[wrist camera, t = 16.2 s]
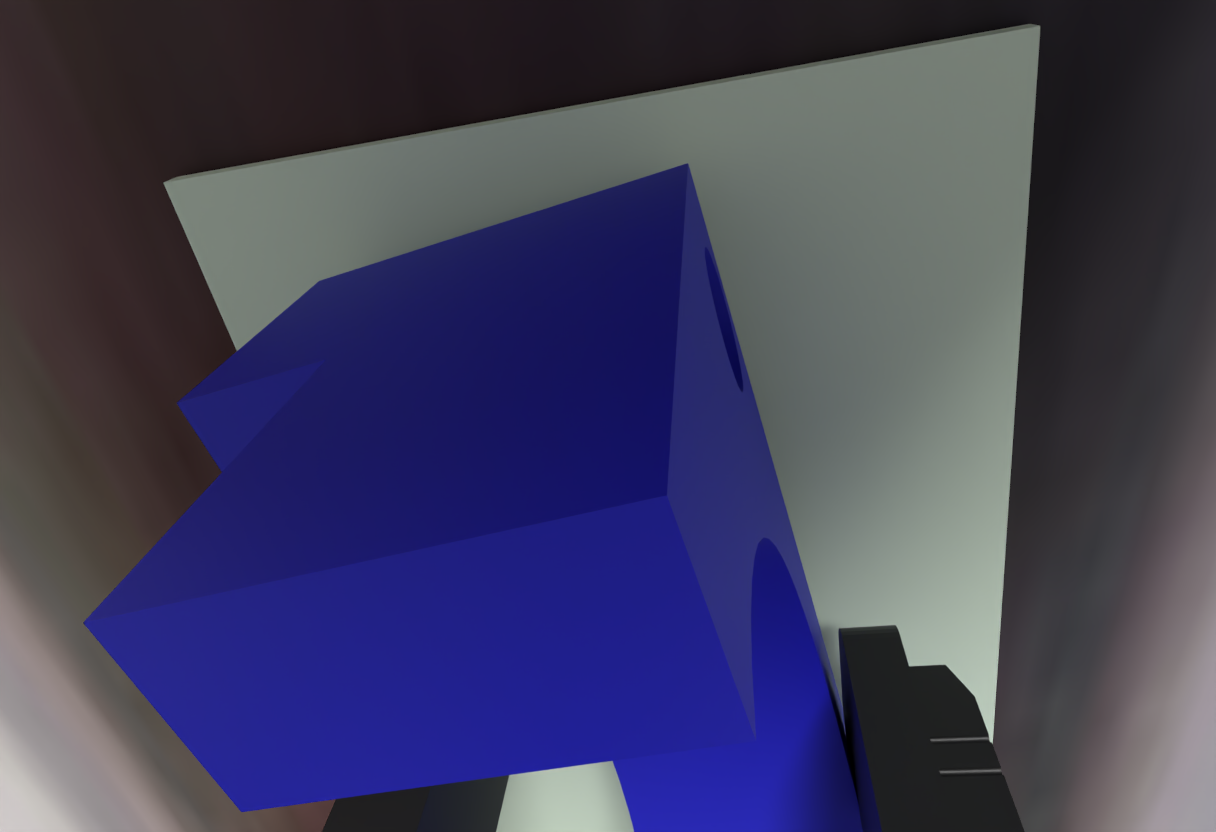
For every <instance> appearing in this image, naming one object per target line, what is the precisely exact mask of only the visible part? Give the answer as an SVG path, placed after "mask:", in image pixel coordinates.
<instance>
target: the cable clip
mask: <svg viewBox="0 0 1216 832" xmlns="http://www.w3.org/2000/svg"><path fill="white" fill-rule="evenodd" d="M177 405H178V406H179V408H180V409H181V411H182V412H183V414H184V415H185V417H186V418H187V420H188V421H189V423H190V424H191V426H192V427H193V429H194V430H195V432H196V433H197V435H198V437H199V438H200V440H201V441H202V443H203V444H204V446H205V447H206V449H207V450H208V452H209V453H210V455H211V456H212V458H213V459H214V461H215V462H216V464H217V465H218V467H219V468H220V470H221V472H222V473H221V474H220V475H219V476H218V477H217V478H216V480H215V481H214V482H213V483H212V484H211V485H210V486H209V487H208V488H207V489H206V490H205V491H204V493H203V494H202V495H201V496H200V497H199V498H198V499H197V500H196V501H195V502H194V503H193V504H192V505H191V507H190V508H189V509H188V510H187V511H186V512H185V513H184V514H183V515H182V516H181V517H180V518H179V520H178V521H177V522H176V523H175V524H174V525H173V526H172V527H171V528H170V529H169V530H168V531H167V533H166V534H165V535H164V536H163V537H162V538H161V539H160V540H159V541H158V542H157V543H156V544H155V546H154V547H153V548H152V549H151V550H150V551H149V552H148V553H147V554H146V555H145V556H144V557H143V559H142V560H141V561H140V562H139V563H138V564H137V565H136V566H135V567H134V568H133V569H132V570H131V572H130V573H129V574H128V575H127V576H126V577H125V578H124V579H123V580H122V581H121V582H120V583H119V585H118V586H117V587H116V588H115V589H114V590H113V591H112V592H111V593H110V594H109V595H108V596H107V598H106V599H105V600H104V601H103V602H102V603H101V604H100V605H99V606H98V607H97V608H96V609H95V611H94V612H93V613H92V614H91V615H90V616H89V617H88V618H87V619H86V620H85V621H84V622H83V623H84V624H85V626H86V627H87V628H88V629H89V630H90V632H91V633H92V634H93V635H94V636H95V638H96V639H97V640H98V641H99V642H100V643H101V645H102V646H103V647H104V648H105V649H106V651H107V652H108V653H109V654H110V655H111V657H112V658H113V659H114V660H115V661H116V663H117V664H118V665H119V666H120V667H121V669H122V670H123V671H124V672H125V673H126V675H127V676H128V677H129V678H130V679H131V681H132V682H133V683H134V684H135V685H136V687H137V688H138V689H139V690H140V691H141V692H142V694H143V695H144V696H145V697H146V698H147V700H148V701H149V702H150V703H151V704H152V706H153V707H154V708H155V709H156V710H157V712H158V713H159V714H160V715H161V716H162V718H163V719H164V720H165V721H166V722H167V724H168V725H169V726H170V727H171V728H172V730H173V731H174V732H175V733H176V734H177V736H178V737H179V738H180V739H181V740H182V742H183V743H184V744H185V745H186V746H187V747H188V749H189V750H190V751H191V752H192V753H193V755H194V756H195V757H196V758H197V759H198V761H199V762H200V763H201V764H202V765H203V767H204V768H205V769H206V770H207V771H208V773H209V774H210V775H211V776H212V777H213V779H214V780H215V781H216V782H217V783H218V785H219V786H220V787H221V788H222V789H223V791H224V792H225V793H226V794H227V795H228V797H229V798H230V799H231V800H232V801H233V802H234V804H235V805H236V806H237V807H238V808H239V810H240V811H241V812H245V811H253V810H260V809H267V808H274V807H282V806H289V805H296V804H303V803H311V802H318V801H325V800H332V799H340V798H347V797H354V796H361V795H369V794H376V793H383V792H390V791H398V790H405V789H412V788H419V787H427V786H434V785H441V784H448V783H455V782H463V781H470V780H477V779H484V778H492V777H499V776H506V775H513V774H521V773H528V772H535V771H542V770H550V769H557V768H564V767H571V766H579V765H586V764H593V763H600V762H608V761H613V764H614V767H615V769H616V772H617V775H618V778H619V781H620V784H621V787H622V791H623V794H624V797H625V800H626V804H627V807H628V810H629V814H630V818H631V821H632V825H633V829H634V832H863V830H862V824H861V819H860V813H859V804H858V799H857V793H856V788H855V782H854V777H853V772H852V766H851V761H850V755H849V750H848V744H847V739H846V732H845V724H844V715H843V707H842V703H841V700H840V696H839V693H838V689H837V686H836V682H835V678H834V675H833V671H832V668H831V664H830V661H829V657H828V654H827V650H826V647H825V643H824V640H823V636H822V633H821V629H820V626H819V622H818V619H817V615H816V612H815V608H814V605H813V601H812V597H811V594H810V590H809V587H808V583H807V580H806V576H805V573H804V569H803V566H802V562H801V559H800V555H799V552H798V548H797V545H796V541H795V538H794V534H793V531H792V527H791V523H790V520H789V516H788V513H787V509H786V506H785V502H784V499H783V495H782V492H781V488H780V485H779V481H778V478H777V474H776V471H775V467H774V464H773V460H772V457H771V453H770V450H769V446H768V442H767V439H766V435H765V432H764V428H763V425H762V421H761V418H760V414H759V411H758V407H757V404H756V400H755V397H754V393H753V390H752V386H751V383H750V379H749V376H748V372H747V369H746V365H745V361H744V358H743V354H742V351H741V347H740V344H739V340H738V337H737V333H736V330H735V326H734V323H733V319H732V316H731V312H730V309H729V305H728V302H727V298H726V295H725V291H724V288H723V284H722V280H721V277H720V273H719V270H718V266H717V263H716V259H715V256H714V252H713V249H712V245H711V242H710V238H709V235H708V231H707V228H706V224H705V221H704V217H703V214H702V210H701V207H700V203H699V199H698V196H697V192H696V189H695V185H694V182H693V178H692V175H691V171H690V168H689V164H688V163H686V164H683V165H680V166H677V167H674V168H671V169H668V170H665V171H661V172H658V173H655V174H652V175H649V176H646V177H643V178H640V179H636V180H633V181H630V182H627V183H624V184H621V185H618V186H615V187H611V188H608V189H605V190H602V191H599V192H596V193H593V194H589V195H586V196H583V197H580V198H577V199H574V200H571V201H568V202H564V203H561V204H558V205H555V206H552V207H549V208H546V209H543V210H539V211H536V212H533V213H530V214H527V215H524V216H521V217H518V218H514V219H511V220H508V221H505V222H502V223H499V224H496V225H492V226H489V227H486V228H483V229H480V230H477V231H474V232H471V233H467V234H464V235H461V236H458V237H455V238H452V239H449V240H446V241H442V242H439V243H436V244H433V245H430V246H427V247H424V248H420V249H417V250H414V251H411V252H408V253H405V254H402V255H399V256H395V257H392V258H389V259H386V260H383V261H380V262H377V263H374V264H370V265H367V266H364V267H361V268H358V269H355V270H352V271H349V272H345V273H342V274H339V275H336V276H333V277H330V278H327V279H323V280H320V281H318V282H317V283H316V284H315V285H314V286H313V287H311V288H310V289H309V290H308V291H307V292H306V293H304V294H303V295H302V296H301V297H300V298H299V299H297V300H296V301H295V302H294V303H293V304H292V305H290V306H289V307H288V308H287V309H286V310H285V311H283V312H282V313H281V314H280V315H279V316H278V317H276V318H275V319H274V320H273V321H272V322H271V323H269V324H268V325H267V326H266V327H265V328H264V329H262V330H261V331H260V332H259V333H258V334H257V335H255V336H254V337H253V338H252V339H251V340H250V341H248V342H247V343H246V344H245V345H244V346H243V347H241V348H240V349H239V350H238V351H237V352H236V353H234V354H233V355H232V356H231V357H230V358H229V359H227V360H226V361H225V362H224V363H223V364H222V365H220V366H219V367H218V368H217V369H216V370H215V371H213V372H212V373H211V374H210V375H209V376H208V377H206V378H205V379H204V380H203V381H202V382H200V383H199V384H198V385H197V386H196V387H195V388H193V389H192V390H191V391H190V392H189V393H188V394H186V395H185V396H184V397H183V398H182V399H181V400H179V401H178V402H177Z"/></svg>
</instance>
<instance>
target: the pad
mask: <svg viewBox="0 0 1216 832" xmlns="http://www.w3.org/2000/svg"><path fill="white" fill-rule="evenodd" d="M1039 41H1040V26H1039V25H1034V24H1026V25H1020V26H1014V27H1009V28H1003V29H998V30H992V31H987V32H981V33H975V34H970V35H964V36H959V37H953V38H948V39H942V40H936V41H931V42H925V43H920V44H914V45H909V46H903V47H897V48H892V49H886V50H881V51H875V52H870V53H864V54H858V55H853V56H847V57H842V58H836V59H831V60H825V61H819V62H814V63H808V64H803V65H797V66H792V67H786V68H780V69H775V70H769V71H764V72H758V73H753V74H747V75H741V76H736V77H730V78H725V79H719V80H714V81H708V82H702V83H697V84H691V85H686V86H680V87H675V88H669V89H663V90H658V91H652V92H647V93H641V94H636V95H630V96H624V97H619V98H613V99H608V100H602V101H597V102H591V103H585V104H580V105H574V106H569V107H563V108H557V109H552V110H546V111H541V112H535V113H530V114H524V115H518V116H513V117H507V118H502V119H496V120H491V121H485V122H479V123H474V124H468V125H463V126H457V127H452V128H446V129H440V130H435V131H429V132H424V133H418V134H413V135H407V136H401V137H396V138H390V139H385V140H379V141H374V142H368V143H362V144H357V145H351V146H346V147H340V148H335V149H329V150H323V151H318V152H312V153H307V154H301V155H296V156H290V157H284V158H279V159H273V160H268V161H262V162H257V163H251V164H245V165H240V166H234V167H229V168H223V169H218V170H212V171H206V172H201V173H195V174H190V175H184V176H179V177H175V178H173V179H171V180H168V181H166V182H163V183H164V185H165V188H166V190H167V192H168V195H169V197H170V199H171V201H172V204H173V206H174V208H175V211H176V213H177V215H178V217H179V220H180V222H181V224H182V227H183V229H184V231H185V234H186V236H187V238H188V240H189V243H190V245H191V247H192V250H193V252H194V254H195V256H196V259H197V261H198V263H199V266H200V268H201V270H202V272H203V275H204V277H205V279H206V282H207V284H208V286H209V288H210V291H211V293H212V295H213V298H214V300H215V302H216V304H217V307H218V309H219V311H220V314H221V316H222V318H223V321H224V323H225V325H226V327H227V330H228V332H229V334H230V337H231V339H232V341H233V343H234V346H235V348H236V350H237V351H238V350H239V349H240V348H241V347H243V346H244V345H245V344H246V343H247V342H248V341H250V340H251V339H252V338H253V337H254V336H255V335H257V334H258V333H259V332H260V331H261V330H262V329H264V328H265V327H266V326H267V325H268V324H269V323H271V322H272V321H273V320H274V319H275V318H276V317H278V316H279V315H280V314H281V313H282V312H283V311H285V310H286V309H287V308H288V307H289V306H290V305H292V304H293V303H294V302H295V301H296V300H297V299H299V298H300V297H301V296H302V295H303V294H304V293H306V292H307V291H308V290H309V289H310V288H311V287H313V286H314V285H315V284H316V283H317V282H318V281H320V280H323V279H327V278H330V277H333V276H336V275H339V274H342V273H345V272H349V271H352V270H355V269H358V268H361V267H364V266H367V265H370V264H374V263H377V262H380V261H383V260H386V259H389V258H392V257H395V256H399V255H402V254H405V253H408V252H411V251H414V250H417V249H420V248H424V247H427V246H430V245H433V244H436V243H439V242H442V241H446V240H449V239H452V238H455V237H458V236H461V235H464V234H467V233H471V232H474V231H477V230H480V229H483V228H486V227H489V226H492V225H496V224H499V223H502V222H505V221H508V220H511V219H514V218H518V217H521V216H524V215H527V214H530V213H533V212H536V211H539V210H543V209H546V208H549V207H552V206H555V205H558V204H561V203H564V202H568V201H571V200H574V199H577V198H580V197H583V196H586V195H589V194H593V193H596V192H599V191H602V190H605V189H608V188H611V187H615V186H618V185H621V184H624V183H627V182H630V181H633V180H636V179H640V178H643V177H646V176H649V175H652V174H655V173H658V172H661V171H665V170H668V169H671V168H674V167H677V166H680V165H683V164H686V163H688V164H689V168H690V171H691V175H692V178H693V182H694V185H695V189H696V192H697V196H698V199H699V203H700V207H701V210H702V214H703V217H704V221H705V224H706V228H707V231H708V235H709V238H710V242H711V245H712V249H713V252H714V256H715V259H716V263H717V266H718V270H719V273H720V277H721V280H722V284H723V288H724V291H725V295H726V298H727V302H728V305H729V309H730V312H731V316H732V319H733V323H734V326H735V330H736V333H737V337H738V340H739V344H740V347H741V351H742V354H743V358H744V361H745V365H746V369H747V372H748V376H749V379H750V383H751V386H752V390H753V393H754V397H755V400H756V404H757V407H758V411H759V414H760V418H761V421H762V425H763V428H764V432H765V435H766V439H767V442H768V446H769V450H770V453H771V457H772V460H773V464H774V467H775V471H776V474H777V478H778V481H779V485H780V488H781V492H782V495H783V499H784V502H785V506H786V509H787V513H788V516H789V520H790V523H791V527H792V531H793V534H794V538H795V541H796V545H797V548H798V552H799V555H800V559H801V562H802V566H803V569H804V573H805V576H806V580H807V583H808V587H809V590H810V594H811V597H812V601H813V605H814V608H815V612H816V615H817V619H818V622H819V626H820V629H821V633H822V636H823V640H824V643H825V647H826V650H827V654H828V657H829V661H830V664H831V668H832V671H833V675H834V678H835V682H836V686H837V689H838V693H839V696H840V700H841V703H842V687H841V670H840V653H839V636H838V631H839V628H852V627H869V626H886V625H896V626H897V628H898V631H899V633H900V637H901V640H902V644H903V647H904V650H905V654H906V657H907V661H908V664H909V666H927V665H946V666H947V667H948V668H949V669H950V670H951V671H952V672H953V673H954V674H955V675H956V677H957V678H958V679H959V680H960V681H961V682H962V683H963V684H964V685H965V686H966V687H967V688H968V690H969V691H970V692H971V693H972V694H973V695H974V696H975V698H976V701H977V704H978V706H979V709H980V712H981V715H982V717H983V720H984V723H985V726H986V728H987V731H988V734H989V740H990V742H992V745H993V730H994V715H995V700H996V685H997V670H998V655H999V640H1000V625H1001V610H1002V595H1003V580H1004V565H1005V550H1006V535H1007V520H1008V505H1009V490H1010V475H1011V460H1012V445H1013V430H1014V415H1015V400H1016V385H1017V370H1018V355H1019V340H1020V325H1021V310H1022V295H1023V280H1024V265H1025V250H1026V235H1027V220H1028V205H1029V190H1030V175H1031V160H1032V145H1033V131H1034V116H1035V101H1036V86H1037V71H1038V56H1039ZM842 707H843V703H842ZM496 832H634V829H633V825H632V821H631V818H630V814H629V810H628V807H627V804H626V800H625V797H624V794H623V791H622V787H621V784H620V781H619V778H618V775H617V772H616V769H615V767H614V764H613V761H608V762H600V763H593V764H586V765H579V766H571V767H564V768H557V769H550V770H542V771H535V772H528V773H521V774H513V775H509V778H508V783H507V787H506V791H505V795H504V800H503V804H502V808H501V813H500V817H499V821H498V826H497V830H496Z"/></svg>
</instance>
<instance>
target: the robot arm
mask: <svg viewBox="0 0 1216 832" xmlns="http://www.w3.org/2000/svg"><path fill="white" fill-rule="evenodd" d="M838 636H839V653H840V670H841V687H842V703H843V715H844V724H845V732H846V739H847V744H848V750H849V755H850V761H851V766H852V772H853V777H854V782H855V788H856V793H857V799H858V804H859V813H860V819H861V824H862V830H863V832H1024V829H1023V826H1022V824H1021V821H1020V818H1019V816H1018V813H1017V810H1016V807H1015V805H1014V802H1013V799H1012V796H1011V794H1010V791H1009V788H1008V786H1007V783H1006V780H1005V777H1004V775H1002V773H1001V766H1000V764H999V761H998V758H997V756H996V753H995V750H994V747H993V745H992V742H990V740H989V734H988V731H987V728H986V726H985V723H984V720H983V717H982V715H981V712H980V709H979V706H978V704H977V701H976V698H975V696H974V695H973V694H972V693H971V692H970V691H969V690H968V688H967V687H966V686H965V685H964V684H963V683H962V682H961V681H960V680H959V679H958V678H957V677H956V675H955V674H954V673H953V672H952V671H951V670H950V669H949V668H948V667H947V666H946V665H927V666H909V664H908V661H907V657H906V654H905V650H904V647H903V644H902V640H901V637H900V633H899V631H898V628H897V626H896V625H886V626H869V627H852V628H839V631H838ZM508 778H509V775H506V776H499V777H492V778H484V779H477V780H470V781H463V782H455V783H448V784H441V785H434V786H427V787H419V788H412V789H405V790H398V791H390V792H383V793H376V794H369V795H361V796H354V797H347V798H340V799H336V801H335V803H334V806H333V808H332V810H331V812H330V815H329V817H328V819H327V822H326V824H325V826H324V829H323V831H322V832H496V830H497V826H498V821H499V817H500V813H501V808H502V804H503V800H504V795H505V791H506V787H507V783H508Z"/></svg>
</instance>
